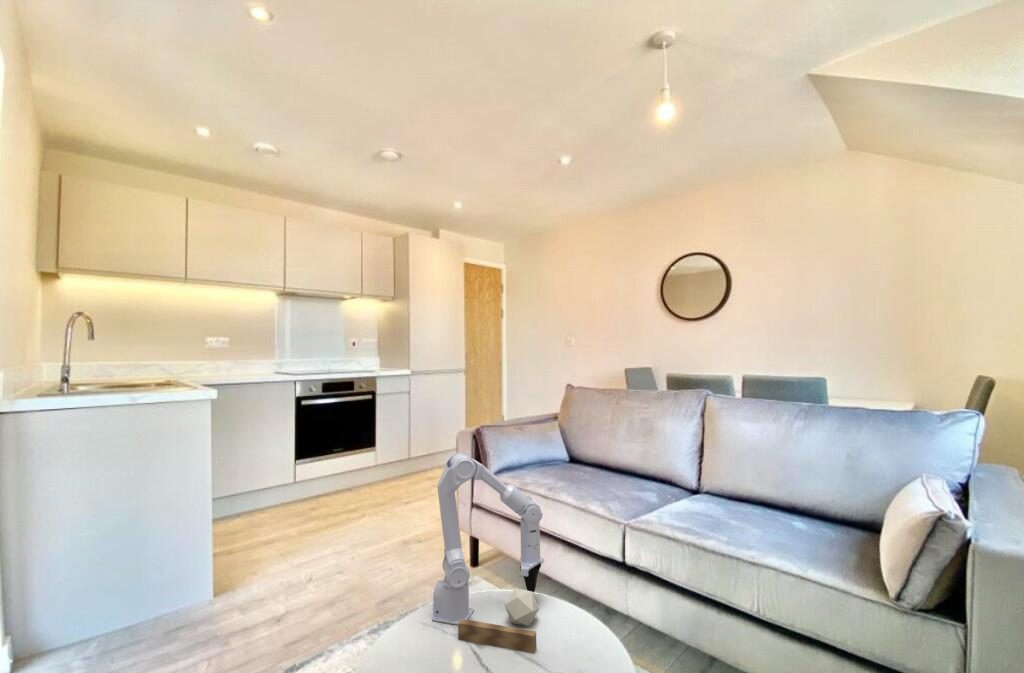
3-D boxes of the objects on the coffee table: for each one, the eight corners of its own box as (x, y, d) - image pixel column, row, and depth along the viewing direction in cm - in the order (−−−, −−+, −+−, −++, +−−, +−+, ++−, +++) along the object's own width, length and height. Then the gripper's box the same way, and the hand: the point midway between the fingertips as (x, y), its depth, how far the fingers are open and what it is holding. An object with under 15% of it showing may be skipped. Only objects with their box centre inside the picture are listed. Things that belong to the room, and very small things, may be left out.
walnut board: (458, 639, 110) (458, 623, 110) (461, 635, 112) (461, 618, 112) (534, 653, 104) (534, 636, 104) (536, 648, 106) (536, 631, 106)
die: (543, 620, 119) (529, 583, 124) (542, 619, 112) (527, 580, 117) (516, 633, 118) (503, 595, 123) (513, 633, 111) (499, 593, 116)
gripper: (537, 554, 120) (538, 605, 119) (548, 535, 134) (549, 580, 133) (513, 551, 122) (514, 601, 121) (526, 533, 136) (527, 577, 135)
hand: (531, 590), depth 127 cm, fingers closed
